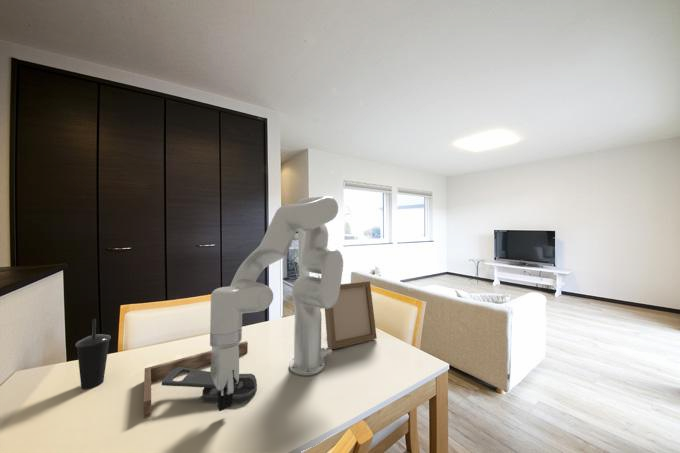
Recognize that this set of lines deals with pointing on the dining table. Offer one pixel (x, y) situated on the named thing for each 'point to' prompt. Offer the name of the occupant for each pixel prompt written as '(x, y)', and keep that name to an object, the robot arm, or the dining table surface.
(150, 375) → the wooden l-shaped bracket
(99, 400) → the dining table surface
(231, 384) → the robot arm
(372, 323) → the photo frame
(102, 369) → the drinking cup
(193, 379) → the zipper pull
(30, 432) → the dining table surface
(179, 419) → the dining table surface
